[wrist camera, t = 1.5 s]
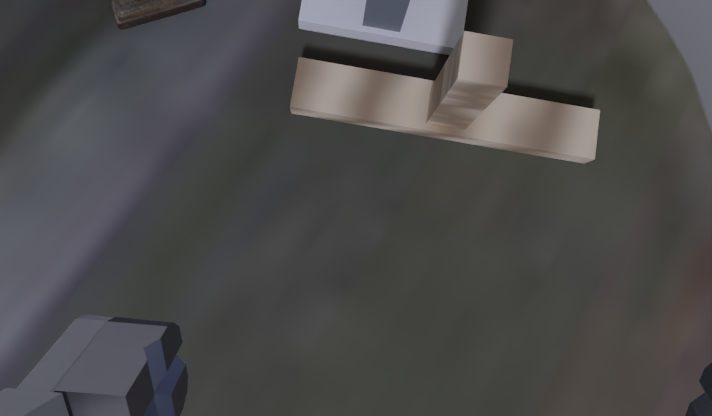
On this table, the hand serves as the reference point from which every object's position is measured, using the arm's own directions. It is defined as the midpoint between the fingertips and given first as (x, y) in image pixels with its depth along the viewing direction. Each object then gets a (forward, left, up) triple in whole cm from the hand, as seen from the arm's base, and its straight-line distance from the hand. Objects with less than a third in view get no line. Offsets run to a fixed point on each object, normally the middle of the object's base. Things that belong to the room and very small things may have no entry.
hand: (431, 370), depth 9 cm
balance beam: (-8, +14, -34) cm, 38 cm away
